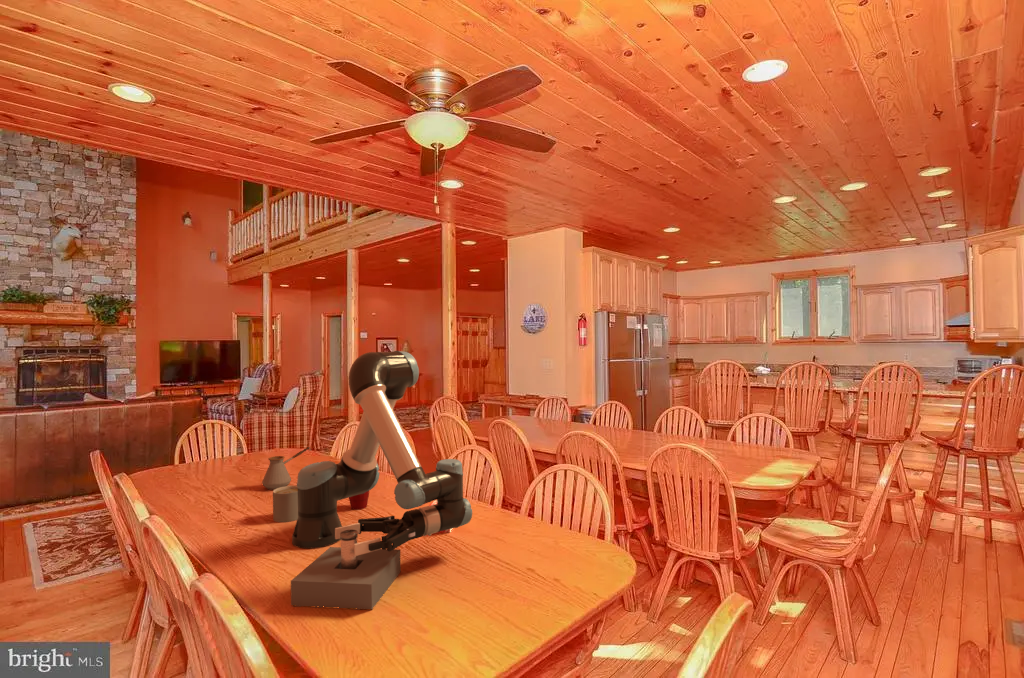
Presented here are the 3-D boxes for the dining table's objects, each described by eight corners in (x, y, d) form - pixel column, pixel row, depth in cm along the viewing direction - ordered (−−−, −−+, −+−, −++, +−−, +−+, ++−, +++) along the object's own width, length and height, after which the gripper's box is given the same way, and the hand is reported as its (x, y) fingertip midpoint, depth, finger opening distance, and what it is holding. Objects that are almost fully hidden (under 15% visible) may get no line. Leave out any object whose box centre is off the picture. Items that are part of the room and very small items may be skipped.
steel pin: (337, 591, 131) (337, 535, 131) (345, 583, 135) (344, 529, 135) (353, 592, 130) (353, 536, 130) (360, 584, 134) (360, 529, 134)
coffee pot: (269, 493, 216) (269, 457, 216) (257, 488, 224) (256, 453, 224) (317, 481, 233) (317, 448, 232) (304, 477, 240) (304, 445, 240)
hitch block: (291, 605, 124) (290, 580, 124) (330, 568, 144) (330, 547, 144) (371, 610, 121) (371, 584, 121) (400, 571, 141) (400, 549, 141)
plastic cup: (337, 510, 193) (336, 478, 193) (356, 501, 203) (355, 470, 203) (361, 513, 189) (360, 480, 189) (379, 504, 199) (378, 473, 199)
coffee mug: (283, 524, 179) (283, 495, 179) (267, 518, 185) (267, 490, 185) (317, 513, 190) (317, 485, 190) (301, 508, 196) (300, 481, 196)
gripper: (443, 550, 135) (363, 573, 122) (400, 523, 154) (328, 541, 142) (442, 521, 135) (363, 541, 122) (400, 498, 154) (328, 514, 142)
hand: (344, 541), depth 132 cm, fingers open, 13 cm apart
